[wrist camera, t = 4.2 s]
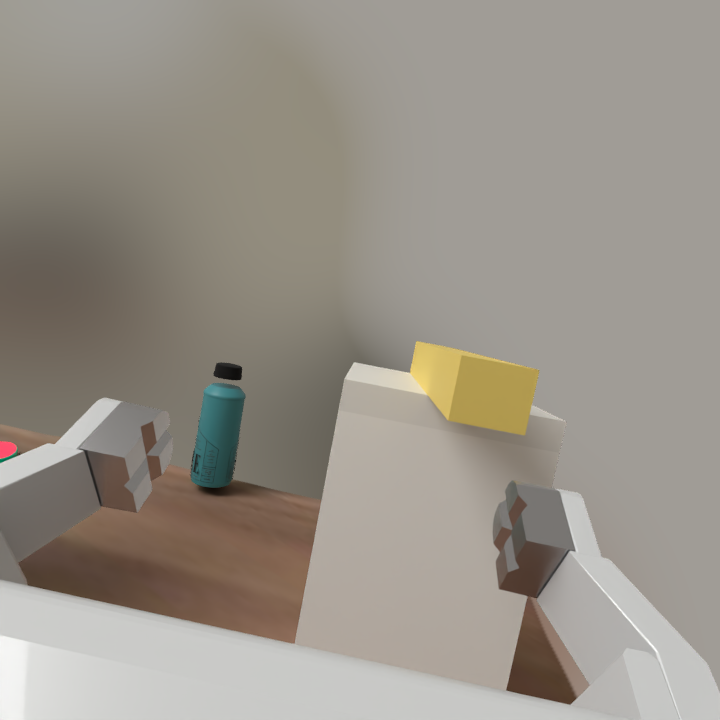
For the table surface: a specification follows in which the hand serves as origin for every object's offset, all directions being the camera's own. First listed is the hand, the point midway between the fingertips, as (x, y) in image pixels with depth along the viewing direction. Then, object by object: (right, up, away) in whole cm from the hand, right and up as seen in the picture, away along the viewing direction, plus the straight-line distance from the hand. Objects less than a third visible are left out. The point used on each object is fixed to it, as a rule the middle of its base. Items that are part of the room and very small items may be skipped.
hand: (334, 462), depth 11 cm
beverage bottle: (-23, -18, +61) cm, 68 cm away
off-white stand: (+2, -25, +27) cm, 37 cm away
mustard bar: (+7, 0, +21) cm, 22 cm away
